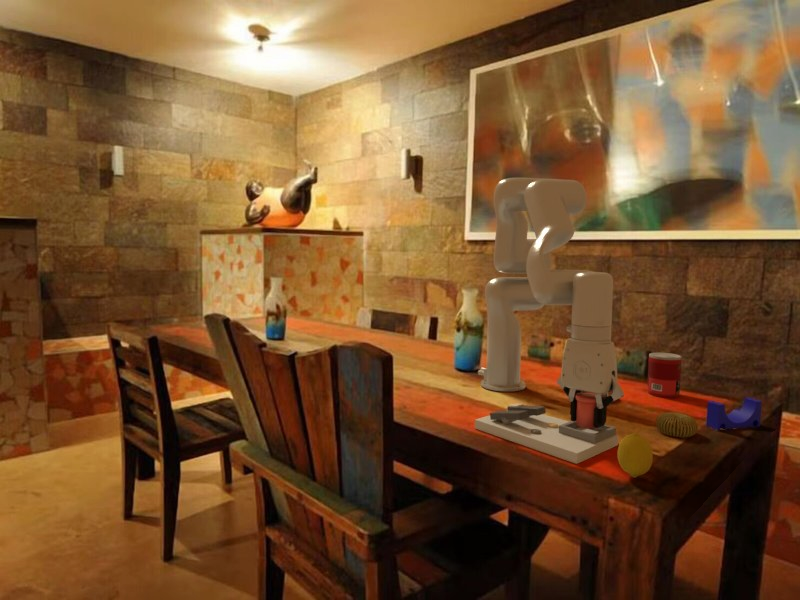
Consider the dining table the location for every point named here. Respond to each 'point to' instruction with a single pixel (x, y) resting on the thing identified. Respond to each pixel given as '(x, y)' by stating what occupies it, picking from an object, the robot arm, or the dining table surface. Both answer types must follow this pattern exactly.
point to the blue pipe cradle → (734, 415)
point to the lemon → (635, 454)
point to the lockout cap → (585, 409)
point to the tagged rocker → (527, 409)
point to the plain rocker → (509, 416)
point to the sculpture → (676, 424)
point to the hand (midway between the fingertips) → (587, 422)
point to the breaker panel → (553, 436)
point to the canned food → (664, 375)
